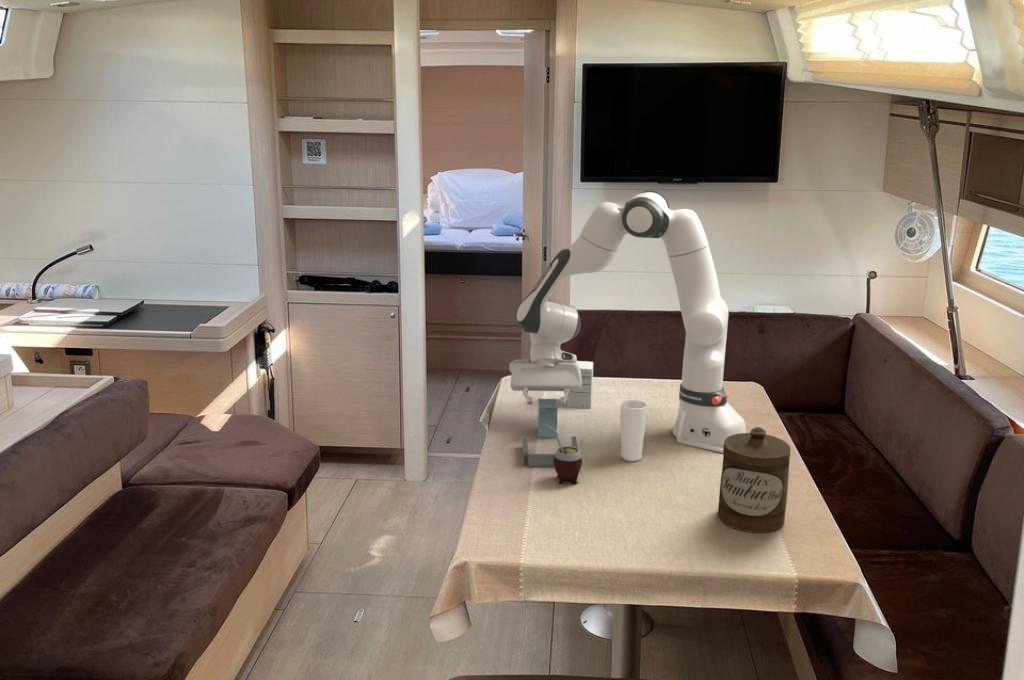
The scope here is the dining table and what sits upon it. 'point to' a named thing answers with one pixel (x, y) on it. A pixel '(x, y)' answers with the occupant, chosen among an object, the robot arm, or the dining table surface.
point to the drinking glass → (632, 429)
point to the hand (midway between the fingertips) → (546, 403)
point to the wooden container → (754, 481)
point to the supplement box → (583, 387)
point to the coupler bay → (541, 455)
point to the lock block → (547, 418)
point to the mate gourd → (566, 462)
